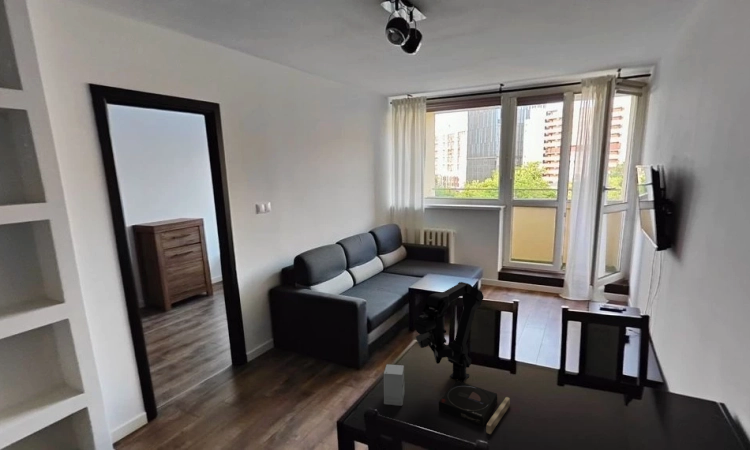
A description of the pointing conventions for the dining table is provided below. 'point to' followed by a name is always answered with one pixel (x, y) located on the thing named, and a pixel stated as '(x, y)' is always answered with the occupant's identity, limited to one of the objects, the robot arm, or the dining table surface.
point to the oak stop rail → (498, 415)
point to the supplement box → (394, 385)
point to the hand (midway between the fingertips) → (437, 363)
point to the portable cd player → (468, 403)
